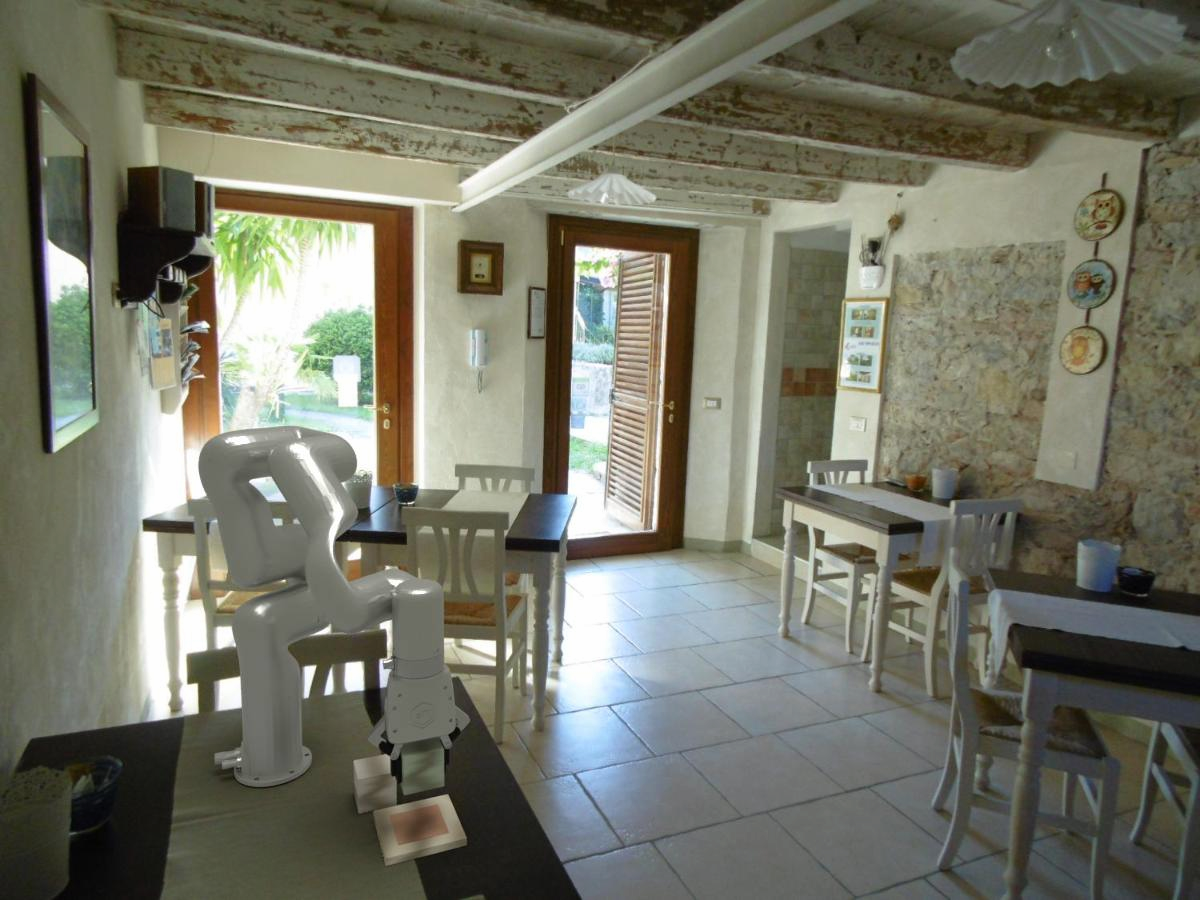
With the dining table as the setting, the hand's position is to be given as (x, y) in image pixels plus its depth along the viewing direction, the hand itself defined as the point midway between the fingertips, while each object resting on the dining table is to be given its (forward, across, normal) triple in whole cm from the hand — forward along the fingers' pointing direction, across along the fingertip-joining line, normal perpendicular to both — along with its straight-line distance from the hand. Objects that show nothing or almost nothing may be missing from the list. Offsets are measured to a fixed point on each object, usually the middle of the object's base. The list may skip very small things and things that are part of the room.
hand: (420, 773), depth 115 cm
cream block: (+10, -5, +11) cm, 16 cm away
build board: (+10, 0, 0) cm, 10 cm away
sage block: (+1, 0, 0) cm, 1 cm away
